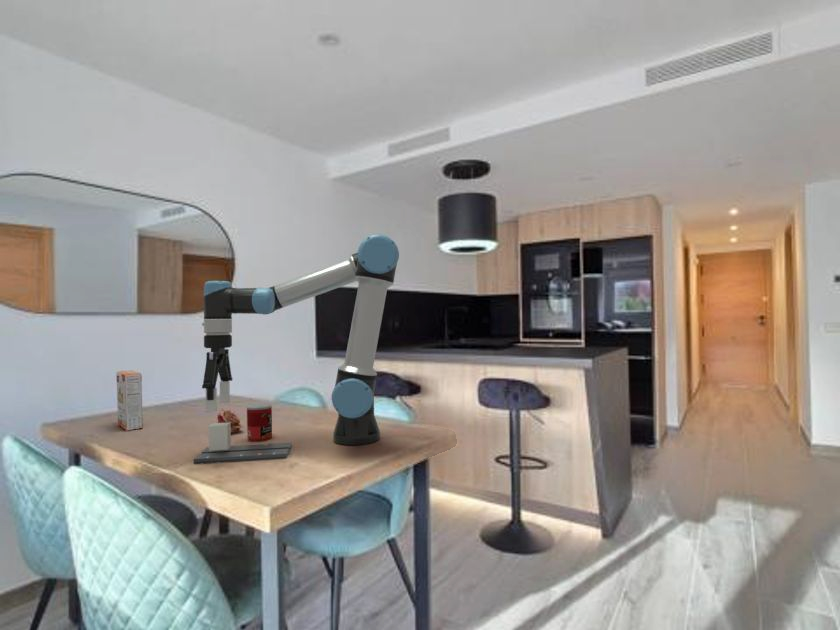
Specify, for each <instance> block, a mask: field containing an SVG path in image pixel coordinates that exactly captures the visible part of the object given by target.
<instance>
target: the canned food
mask: <svg viewBox="0 0 840 630" xmlns="http://www.w3.org/2000/svg"><path fill="white" fill-rule="evenodd" d="M272 414H273V407H272V404H269V403H255V404H249V405H247V406H246V424H247V425H246V426H247V427H246V430H247V436H246V437H247V439H248V441H249V442H255V441H257V442H265V441H268V440H270V439H271V438H272V436H273V415H272Z"/></svg>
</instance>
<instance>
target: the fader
mask: <svg viewBox="0 0 840 630" xmlns="http://www.w3.org/2000/svg"><path fill="white" fill-rule="evenodd" d="M231 436H232V432H231V422H228V423H218V422H213V423H211V424H210V425H208V447H209V451H214V450H218V453H221V452H223V450H228V449H229V448H230V447H231V446H232V437H231Z"/></svg>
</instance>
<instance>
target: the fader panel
mask: <svg viewBox="0 0 840 630" xmlns="http://www.w3.org/2000/svg"><path fill="white" fill-rule="evenodd" d="M292 448H293V442H278V443H277V442H276V443H261V444H258V443H257V444H243V445H231V447H230V448H229V449H228V450H223V452H221V453H218V450H214V451H209V446H208V447H205V448H204V449H203V450H202V451H201V452H200V453H199V454H198V455H196V456H195V457H194V458H193V465H199V464H200V465H201V463H203V464H215V463H216V464H217V462H220V463H231V462H232V463H233V462H234V463H235V462H236V463H237V462H248V461H249V462H252V461H265V460H266V461H267V460H280V459H281V460H283V459H284V460H285V458H286V459H287V458H288V456H289V454H290V452H291V450H292Z"/></svg>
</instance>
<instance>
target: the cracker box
mask: <svg viewBox="0 0 840 630" xmlns="http://www.w3.org/2000/svg"><path fill="white" fill-rule="evenodd" d="M115 374H116V398H117V399H116V400H117V405H116V406H117V424H118V426H119V427H120V426H121V428H122V429H123V430H124V429H125V430H126V431H125V432H128V431H127V430H131V431H135V430H134V429H136V430H141V429H140V428H142V429H143V428H144V422H143V421H144V420H143V419H144V418H143V385H142V383H143V382H142V381H143V380H142V378H143V377H142V373H141V372H137V371H135V370H121V371H116V373H115Z"/></svg>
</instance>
